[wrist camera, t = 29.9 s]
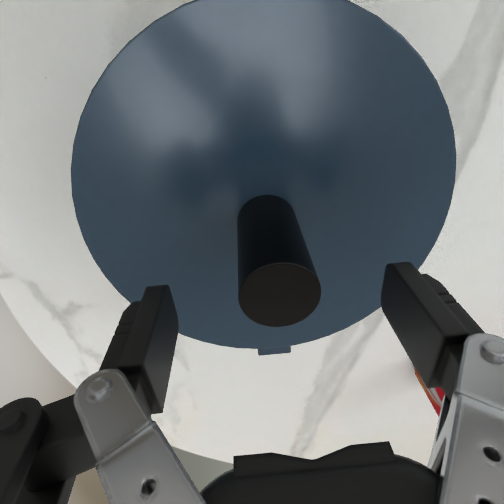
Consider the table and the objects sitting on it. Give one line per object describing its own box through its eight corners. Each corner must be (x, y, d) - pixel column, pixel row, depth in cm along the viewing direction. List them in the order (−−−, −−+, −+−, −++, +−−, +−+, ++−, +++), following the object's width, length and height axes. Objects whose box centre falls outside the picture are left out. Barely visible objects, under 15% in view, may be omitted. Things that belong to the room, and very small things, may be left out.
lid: (139, 347, 23) (104, 456, 17) (7, 15, 13) (-200, -14, 7) (409, 322, 23) (472, 422, 17) (492, -35, 13) (734, -113, 6)
